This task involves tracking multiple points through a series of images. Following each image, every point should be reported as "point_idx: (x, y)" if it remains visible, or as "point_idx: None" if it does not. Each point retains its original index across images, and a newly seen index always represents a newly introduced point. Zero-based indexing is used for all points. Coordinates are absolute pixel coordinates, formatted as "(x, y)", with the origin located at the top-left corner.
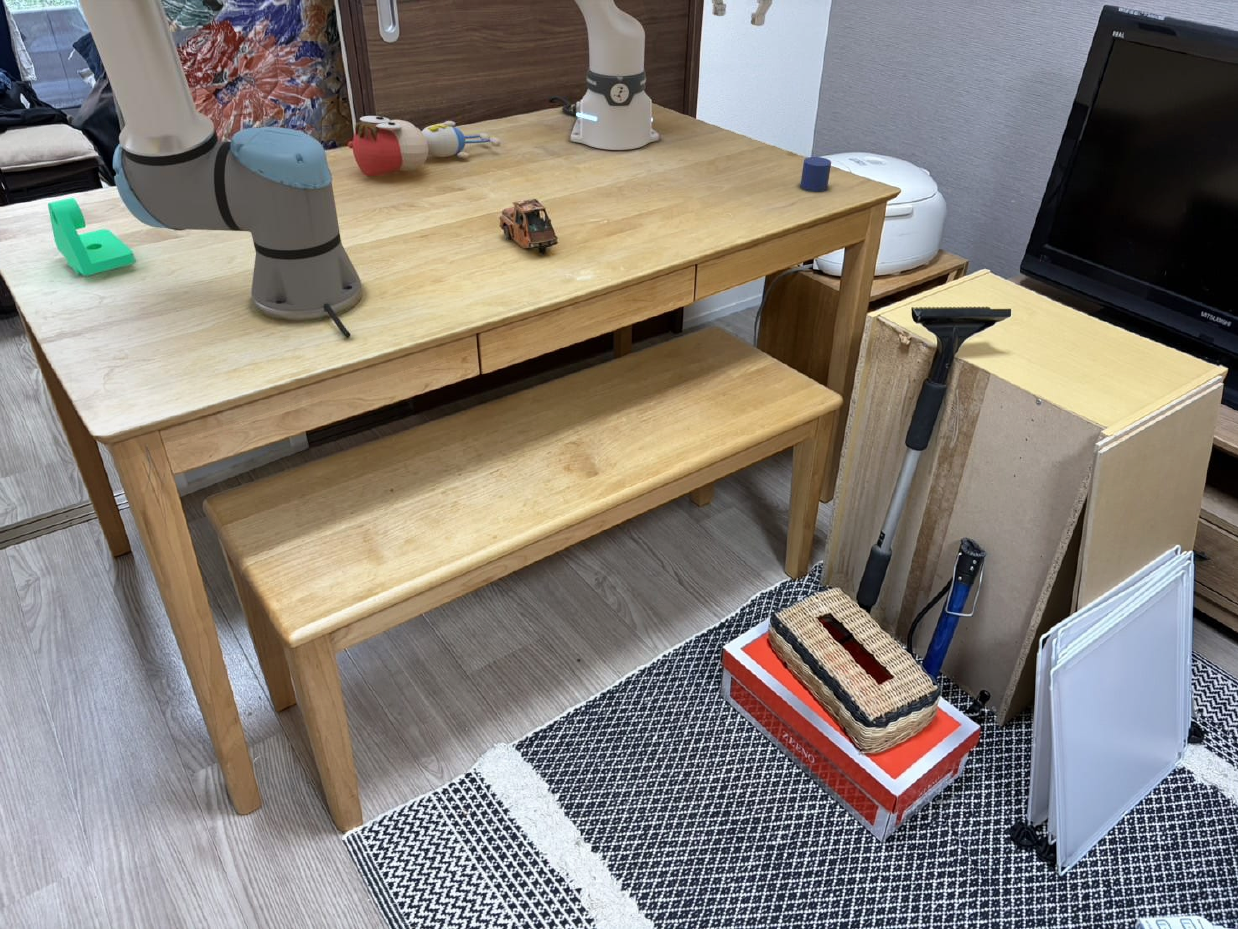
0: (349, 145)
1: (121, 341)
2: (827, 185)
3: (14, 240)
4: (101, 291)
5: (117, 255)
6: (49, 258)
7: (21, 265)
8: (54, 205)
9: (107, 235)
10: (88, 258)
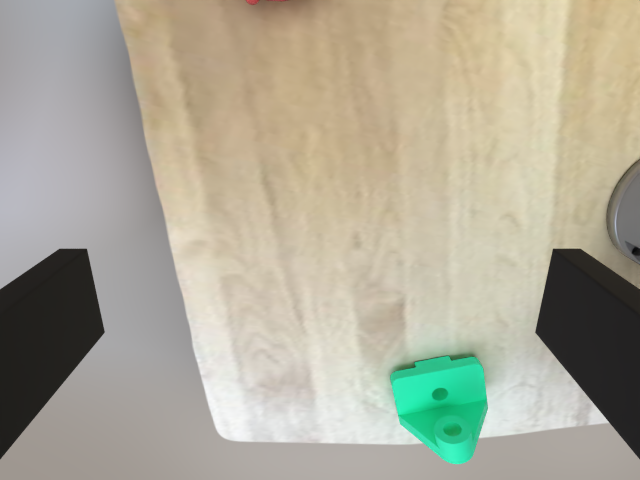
0: (257, 2)
1: None
2: None
3: (324, 440)
4: (505, 384)
5: (479, 377)
6: (392, 417)
7: (396, 437)
8: (465, 459)
9: (414, 381)
10: (485, 404)
